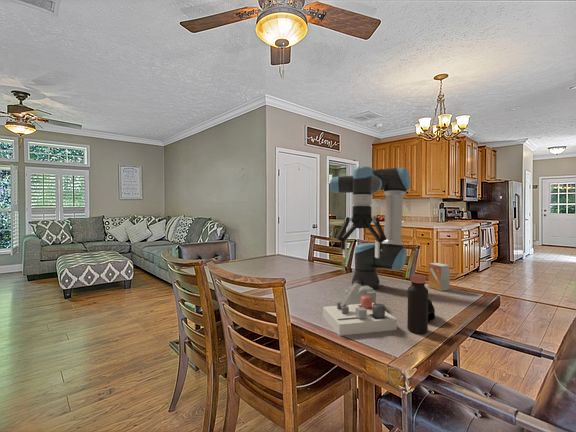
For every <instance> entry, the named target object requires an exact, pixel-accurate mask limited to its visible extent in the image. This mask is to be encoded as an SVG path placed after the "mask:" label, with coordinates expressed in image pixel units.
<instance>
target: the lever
mask: <svg viewBox="0 0 576 432" xmlns="http://www.w3.org/2000/svg"><path fill="white" fill-rule="evenodd" d="M351 286H352V287H351V289H350V290H349V292H348V293H347V295H346V296H345V295H344V298H343V299H342V301H341V302H342V303H341V304H340V307H341V308H342V307H347V306H348V304H349V303H350V301H351V300H352V298H353V297H354V295H355V293H356V292H357V290H358V289H359V287H360V286H361V282H360V281H358V280H357V281H356V282H354V284H353V285H352V284H351Z"/></svg>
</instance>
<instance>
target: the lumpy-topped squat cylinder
mask: <svg viewBox="0 0 576 432" xmlns="http://www.w3.org/2000/svg"><path fill="white" fill-rule="evenodd" d="M351 287H352V285H350V286H349V287H347V288H345V290H344V297H345V296H346V295H347V293H348V292H349V290H350V289H351ZM361 296H371V297H372V303H374V304H377V292H376V290H374V289H373V288H371V287H369V286H360V287H359V289H358V290H357V292H356V293H355V295H354V297H353V298H352V300H351V301H350V303H349V304H348V305H352V304H361Z"/></svg>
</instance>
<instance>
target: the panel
mask: <svg viewBox="0 0 576 432" xmlns="http://www.w3.org/2000/svg"><path fill="white" fill-rule="evenodd" d="M341 303H342V301H339V302H336V305H329V306H323V307H322V317H323V318H324V320H325V321H326V322H327V324H329V325H330V326H331V328H332V329H333V330H334V332H335V333H336V334H337V335H338V336H350V335H359V334H360V335H361V334H370V333H379V332H380V333H381V332H389V331H397V330H398V328H397V327H398V323H397V322H398V319H397V318H396V317H395V316H393V315H391V313H388V312H387V311H386V310H385V319H374V318H373V304H374V303H372V309H366V310H367V318H363V319H359V318H358V317H356V308H359V307H361V304H352V305H348V306H347V307H342V308H341V307H340V304H341Z"/></svg>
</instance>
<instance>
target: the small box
mask: <svg viewBox="0 0 576 432" xmlns="http://www.w3.org/2000/svg"><path fill="white" fill-rule="evenodd" d="M450 268H451V267H450V265H449V264H446V263H442V262H441V263H440V262H430V263H428V280H427V281H428V284H427V285H428V288H431V289H434V290H437V291H439V292H444V291H449V290H450V275H451V274H450V273H451V272H450Z"/></svg>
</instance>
